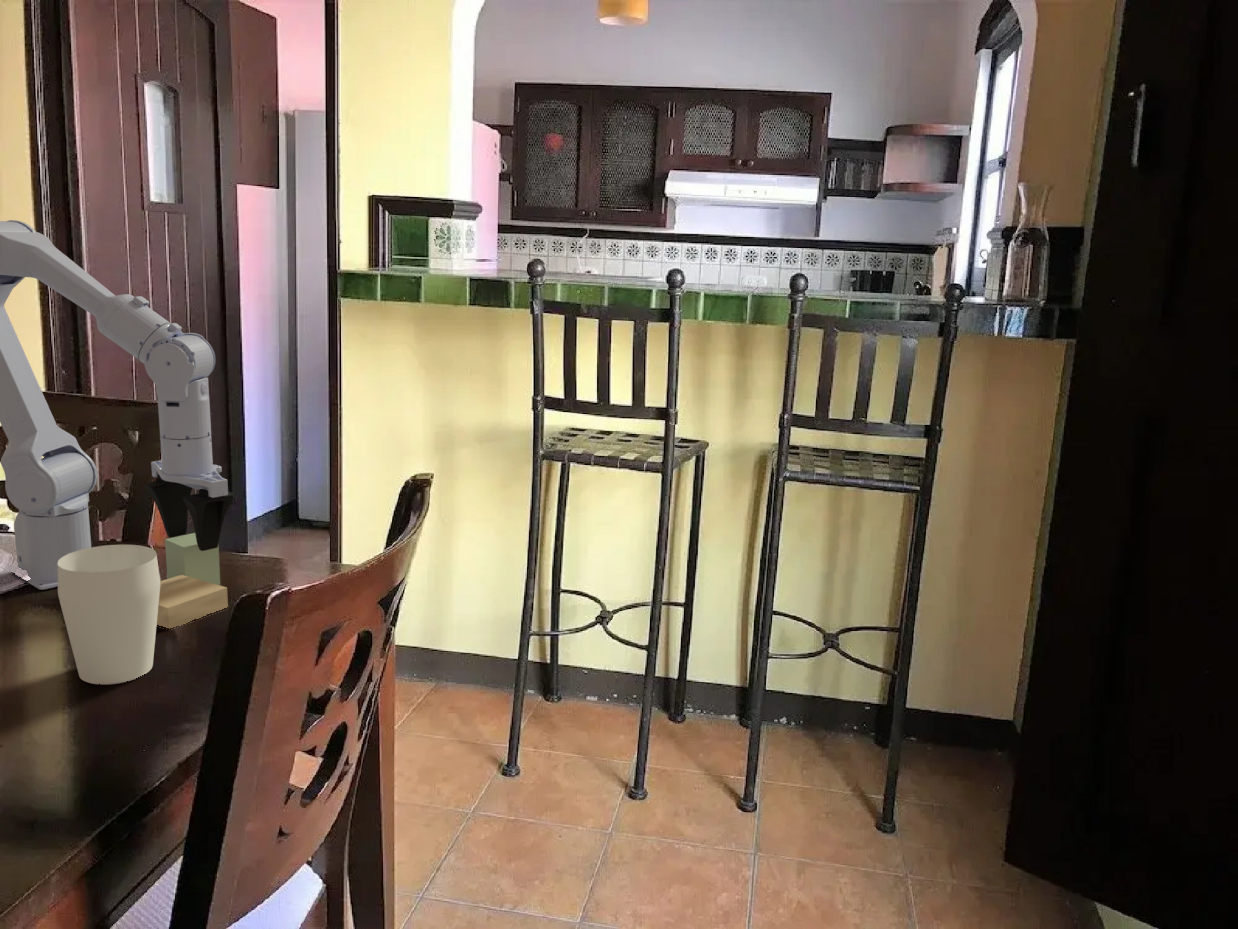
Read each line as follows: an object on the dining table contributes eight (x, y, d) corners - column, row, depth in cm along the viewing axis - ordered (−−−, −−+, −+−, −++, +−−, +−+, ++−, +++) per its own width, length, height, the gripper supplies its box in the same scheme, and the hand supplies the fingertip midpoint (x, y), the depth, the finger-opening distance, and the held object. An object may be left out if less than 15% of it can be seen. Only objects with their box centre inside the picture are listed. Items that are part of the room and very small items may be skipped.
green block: (167, 584, 123) (164, 539, 122) (201, 576, 127) (199, 532, 126) (186, 593, 121) (183, 547, 119) (220, 585, 124) (218, 539, 123)
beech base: (123, 618, 113) (121, 593, 113) (182, 597, 120) (181, 574, 120) (169, 633, 110) (168, 608, 109) (228, 611, 117) (226, 587, 116)
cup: (125, 696, 94) (116, 577, 91) (43, 684, 96) (32, 567, 93) (184, 659, 103) (178, 549, 100) (108, 648, 104) (100, 540, 102)
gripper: (248, 439, 118) (253, 547, 121) (186, 422, 127) (192, 523, 130) (192, 447, 113) (199, 560, 116) (131, 429, 122) (139, 534, 125)
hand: (192, 542), depth 123 cm, fingers open, 7 cm apart
